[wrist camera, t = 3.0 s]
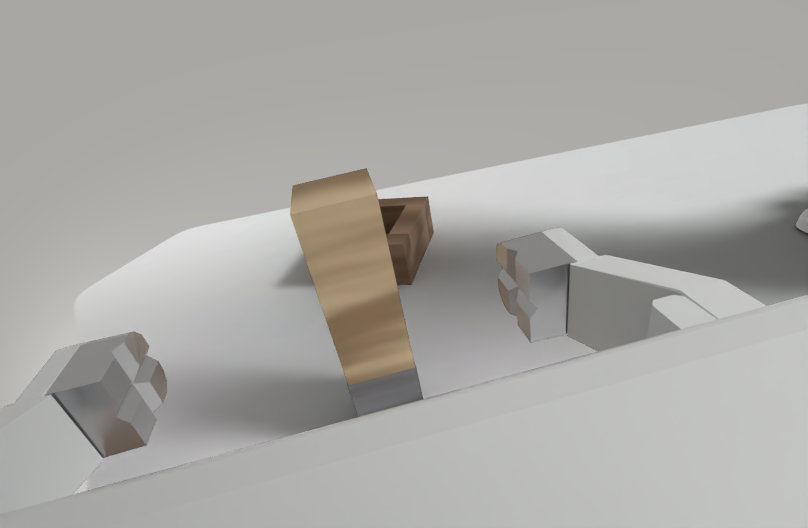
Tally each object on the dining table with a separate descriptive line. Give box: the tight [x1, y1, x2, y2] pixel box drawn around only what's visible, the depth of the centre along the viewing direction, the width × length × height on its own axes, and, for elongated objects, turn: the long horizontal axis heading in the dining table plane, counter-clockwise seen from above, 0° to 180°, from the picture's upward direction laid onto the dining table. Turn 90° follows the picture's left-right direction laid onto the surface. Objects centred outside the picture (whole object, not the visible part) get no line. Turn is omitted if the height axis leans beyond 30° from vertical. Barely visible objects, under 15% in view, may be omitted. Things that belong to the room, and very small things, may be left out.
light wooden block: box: [290, 169, 423, 417], centre depth 25 cm, size 4×4×16 cm
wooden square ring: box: [378, 197, 433, 284], centre depth 47 cm, size 10×10×4 cm
